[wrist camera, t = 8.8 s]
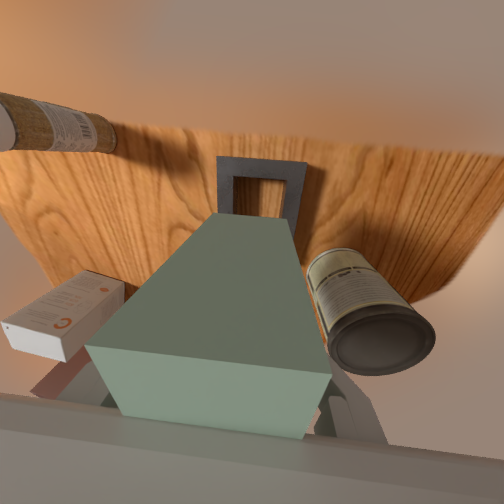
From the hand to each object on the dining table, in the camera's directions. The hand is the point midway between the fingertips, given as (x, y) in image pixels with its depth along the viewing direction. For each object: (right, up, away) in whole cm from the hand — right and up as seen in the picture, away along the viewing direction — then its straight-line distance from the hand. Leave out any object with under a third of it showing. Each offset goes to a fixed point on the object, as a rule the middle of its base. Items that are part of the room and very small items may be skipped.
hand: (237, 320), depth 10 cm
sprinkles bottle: (-20, +20, +15) cm, 32 cm away
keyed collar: (+2, +9, +18) cm, 21 cm away
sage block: (0, +2, +4) cm, 4 cm away
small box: (-29, -4, +28) cm, 41 cm away
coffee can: (+15, 0, +22) cm, 27 cm away
